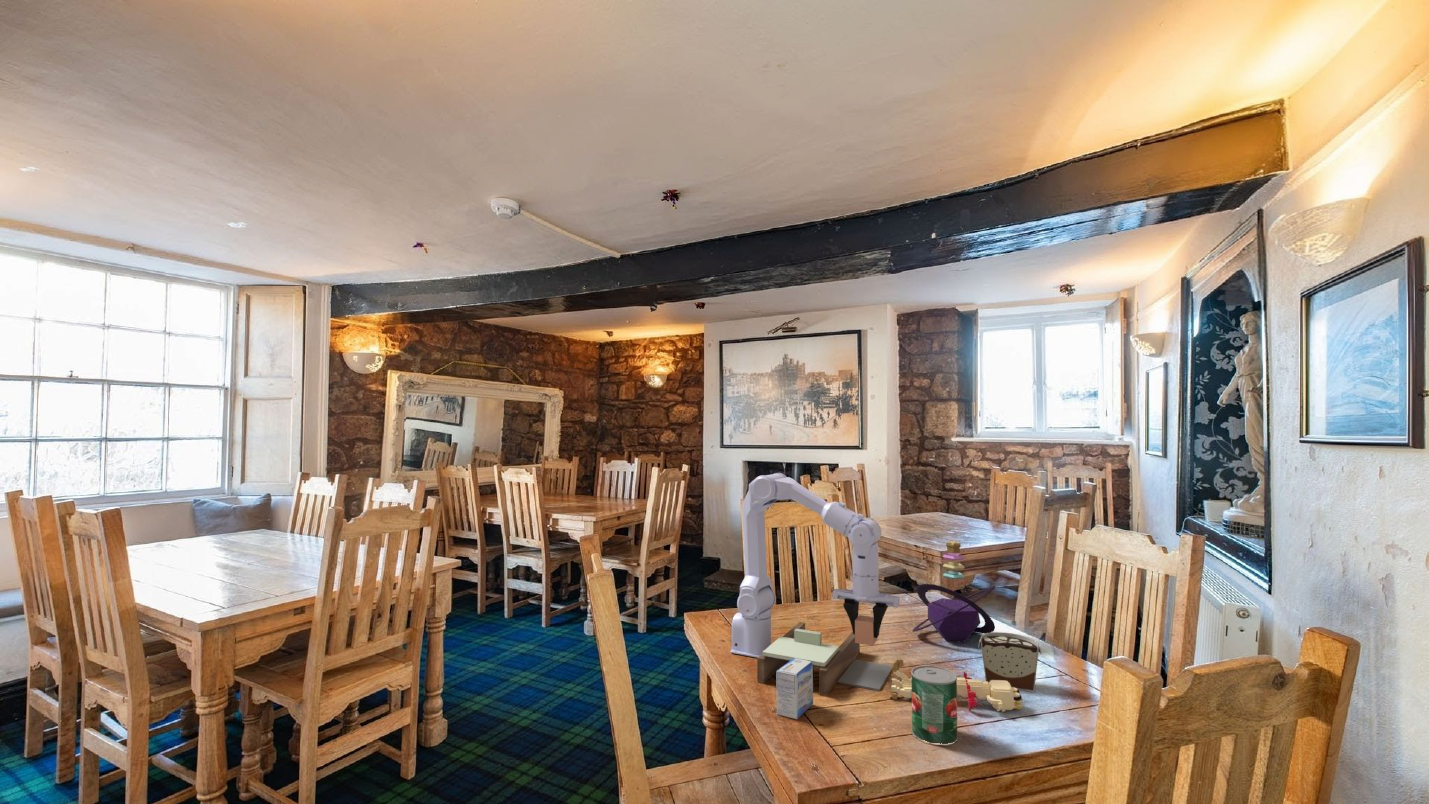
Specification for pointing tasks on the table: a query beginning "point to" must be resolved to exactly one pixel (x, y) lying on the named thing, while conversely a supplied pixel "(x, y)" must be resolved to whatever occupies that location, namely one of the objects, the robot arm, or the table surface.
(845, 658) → the brown wooden frame
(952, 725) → the canned tomato
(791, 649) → the cover
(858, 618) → the block
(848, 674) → the mat
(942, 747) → the table surface
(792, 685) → the medicine box
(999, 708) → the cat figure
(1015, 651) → the food container
